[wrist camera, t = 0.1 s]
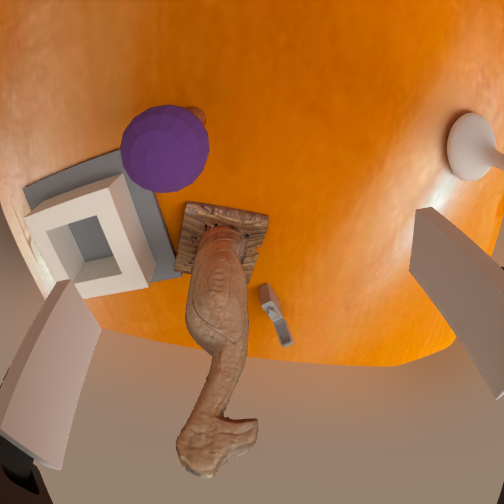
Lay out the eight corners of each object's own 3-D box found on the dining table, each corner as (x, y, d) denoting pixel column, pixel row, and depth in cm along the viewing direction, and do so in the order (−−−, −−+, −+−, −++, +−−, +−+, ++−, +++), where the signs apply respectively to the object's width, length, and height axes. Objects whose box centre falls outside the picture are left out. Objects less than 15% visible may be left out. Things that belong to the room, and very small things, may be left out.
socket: (26, 186, 34) (2, 204, 29) (139, 142, 34) (123, 154, 28) (76, 292, 45) (63, 318, 39) (182, 272, 44) (177, 301, 39)
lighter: (257, 287, 47) (263, 323, 40) (267, 282, 46) (275, 318, 40) (277, 314, 50) (284, 350, 43) (286, 310, 50) (295, 346, 43)
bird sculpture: (251, 278, 46) (280, 494, 19) (175, 268, 44) (140, 488, 17) (268, 211, 41) (336, 453, 13) (181, 198, 39) (116, 445, 11)
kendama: (175, 149, 35) (128, 218, 18) (161, 105, 32) (94, 131, 15) (222, 135, 34) (218, 190, 17) (209, 90, 31) (189, 94, 14)
